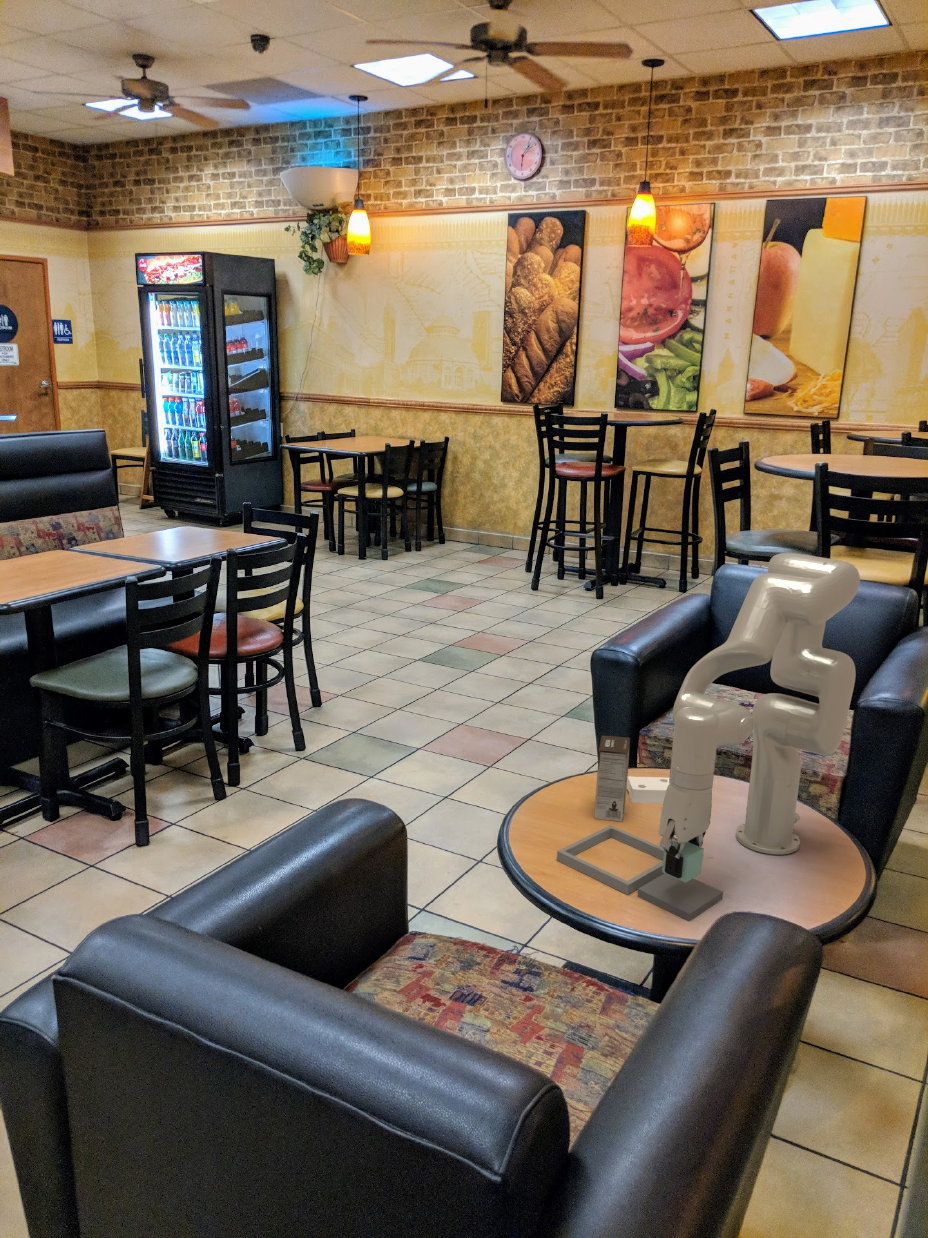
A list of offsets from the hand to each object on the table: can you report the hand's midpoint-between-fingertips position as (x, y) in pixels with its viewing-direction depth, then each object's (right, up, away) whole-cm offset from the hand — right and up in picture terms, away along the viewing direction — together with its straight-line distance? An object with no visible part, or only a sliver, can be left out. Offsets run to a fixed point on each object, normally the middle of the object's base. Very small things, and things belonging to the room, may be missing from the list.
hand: (681, 869), depth 171 cm
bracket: (+5, +4, +44) cm, 44 cm away
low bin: (-9, -2, +14) cm, 17 cm away
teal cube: (0, -1, 0) cm, 1 cm away
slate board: (0, -6, +2) cm, 6 cm away
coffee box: (-8, +3, +36) cm, 37 cm away
